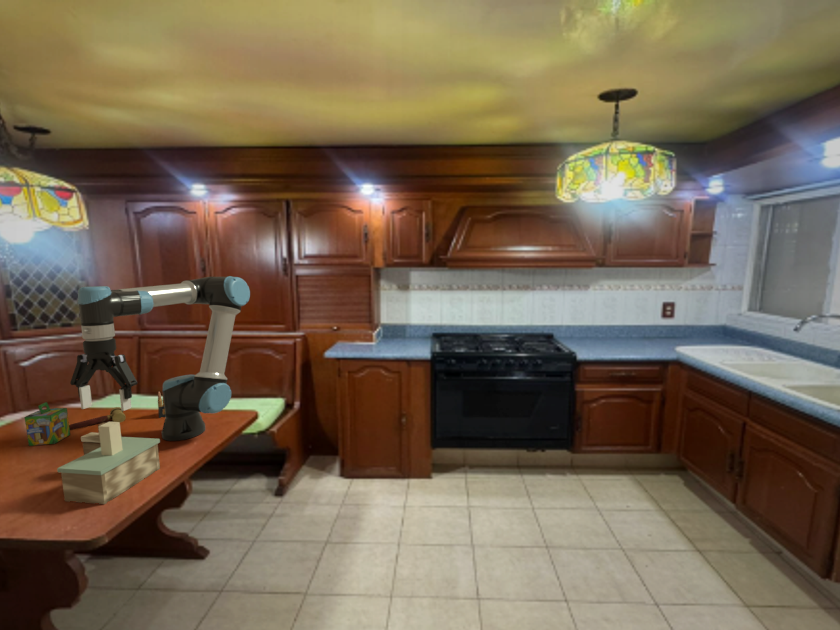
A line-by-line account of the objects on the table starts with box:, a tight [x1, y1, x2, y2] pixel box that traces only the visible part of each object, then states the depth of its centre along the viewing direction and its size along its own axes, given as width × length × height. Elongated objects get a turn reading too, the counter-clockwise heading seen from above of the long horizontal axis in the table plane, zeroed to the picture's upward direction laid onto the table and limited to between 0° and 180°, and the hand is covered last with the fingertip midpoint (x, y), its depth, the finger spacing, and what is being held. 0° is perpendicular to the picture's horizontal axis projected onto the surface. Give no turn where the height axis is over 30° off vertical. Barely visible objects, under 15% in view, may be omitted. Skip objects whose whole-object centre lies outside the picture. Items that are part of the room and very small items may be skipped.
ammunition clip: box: [157, 391, 165, 419], centre depth 180 cm, size 11×2×12 cm, turn 131°
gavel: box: [69, 406, 126, 431], centre depth 170 cm, size 21×5×10 cm
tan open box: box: [60, 442, 161, 505], centre depth 123 cm, size 20×22×10 cm
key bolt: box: [80, 422, 106, 443], centre depth 130 cm, size 4×8×6 cm, turn 82°
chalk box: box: [24, 401, 71, 447], centre depth 154 cm, size 9×9×15 cm
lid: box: [56, 421, 161, 475], centre depth 121 cm, size 21×14×11 cm, turn 172°
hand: (106, 408), depth 120 cm, fingers open, 13 cm apart
